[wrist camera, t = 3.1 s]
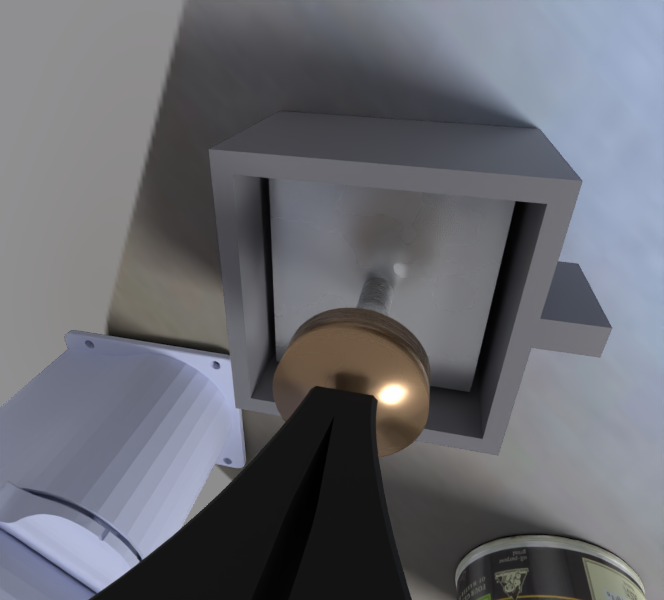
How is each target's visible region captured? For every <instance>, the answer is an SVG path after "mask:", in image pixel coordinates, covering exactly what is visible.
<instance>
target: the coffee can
mask: <svg viewBox="0 0 664 600" xmlns="http://www.w3.org/2000/svg"><path fill="white" fill-rule="evenodd" d="M455 583H456V588H457V600H646V597H645V591H644V587H643V584H642V582H641V580H640V578H639V576H638V575H637V574H636V573H635V572H634V570H633V569H632V568H631V567H629V566H628V565H627V564H626V563H625V562H624V561H623V560H621V559H620V558H618V557H617V556H615V555H614V554H612V553H610V552H608V551H606V550H604V549H601V548H599V547H597V546H594V545H591V544H588V543H585V542H583V541H579V540H572V539H568V538H563V537H557V536H548V535H521V536H512V537H506V538H500V539H497V540H494V541H491V542H488V543H486V544H483V545H481V546H479V547H477V548H476V549H474V550H472V551H471V552H470V553H468V554H467V555H466V556H465V557H464V558H463V559H462V561H461V562H460V563H459V565H458V567H457V570H456V575H455Z"/></svg>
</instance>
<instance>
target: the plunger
mask: <svg viewBox="0 0 664 600" xmlns="http://www.w3.org/2000/svg"><path fill="white" fill-rule="evenodd" d="M269 193H270V217H271V241H272V265H273V289H274V313H275V337H276V361H279V362H280V363H279V365H278V367H277V369H276V371H275V374H274V378H273V388H272V390H273V397H274V401H275V404H276V407H277V409H278V411H279V413H280V415H281V416H282V418H283V419H284V421H285V422H286V421H287V420H288V419H289V418H290V416H291V415H292V414H293V413H294V411H295V410H296V409H297V407H298V406H299V405H300V403H301V402H302V401H303V399H304V398H305V397H306V395H307V394H308V392H309V391H310V389H312V388H313V387H315V386H320V387H326V388H332V389H338V390H344V391H350V392H356V393H362V394H368V395H373V396H374V397H375V398H376V399H377V400H378V404H377V413H376V437H377V449H378V457H383V456H387V455H391V454H393V453H396V452H398V451H400V450H402V449H404V448H406V447H407V446H409V445H410V444H411V443H413V442H414V441H415V440H416V439H417V438H418V437H419V435H420V434H421V432H422V431H423V429H424V427H425V425H426V422H427V419H428V412H429V397H430V386H435V387H441V388H448V389H454V390H460V391H466V392H470V391H471V387H472V382H473V378H474V374H475V370H476V366H477V361H478V357H479V353H480V349H481V345H482V340H483V336H484V332H485V328H486V323H487V319H488V315H489V311H490V307H491V302H492V298H493V294H494V290H495V286H496V281H497V277H498V273H499V269H500V265H501V260H502V256H503V252H504V248H505V244H506V239H507V235H508V231H509V227H510V223H511V218H512V214H513V210H514V206H515V201H510V200H500V199H489V198H478V197H468V196H457V195H446V194H435V193H425V192H414V191H403V190H393V189H382V188H371V187H360V186H350V185H339V184H328V183H318V182H307V181H296V180H285V179H275V178H269Z"/></svg>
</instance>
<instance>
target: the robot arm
mask: <svg viewBox="0 0 664 600" xmlns="http://www.w3.org/2000/svg"><path fill="white" fill-rule="evenodd" d="M65 342H66V345H67V348H68V349H67V350H66V351H65V352H64V353H63V354H62V355H60V356H59V357H58V358H57V359H56V360H55V361H54V362H52V363H51V364H50V365H49V366H48V367H47V368H46V369H44V370H43V371H42V372H41V373H40V374H39V375H37V377H35V378H34V379H33V380H32V381H30V382H29V383H28V384H27V385H26V386H25V387H23V388H22V389H21V390H20V391H19V392H18V393H17V394H15V395H14V396H13V397H12V398H11V399H10V400H8V401H7V402H6V403H5V404H4V405H3V406H1V407H0V600H412V599H411V596H410V593H409V589H408V586H407V583H406V579H405V576H404V572H403V569H402V566H401V562H400V558H399V555H398V551H397V547H396V543H395V539H394V535H393V531H392V527H391V522H390V518H389V514H388V509H387V504H386V499H385V494H384V489H383V483H382V477H381V471H380V465H379V457H378V449H377V437H376V413H377V404H378V400H377V399H376V398H375V397H374V396H373V395H368V394H362V393H356V392H350V391H344V390H338V389H332V388H326V387H320V386H315V387H313V388H312V389H310V391H309V392H308V394H307V395H306V397H305V398H304V399H303V401H302V402H301V403H300V405H299V406H298V407H297V409H296V410H295V411H294V413H293V414H292V415H291V416H290V418H289V419H288V420H287V421H286V422H285V424H284V425H283V426H282V427H281V429H280V430H279V431H278V432H277V433H276V434H275V436H274V437H273V438H272V439H271V440H270V441H269V442H268V443H267V445H266V446H265V447H264V448H263V449H262V450H261V451H260V453H259V454H258V455H257V456H256V457H255V458H254V459H253V460H252V461H251V462H250V463H249V464H248V465H247V466H246V468H245V469H244V470H243V471H242V472H241V473H240V474H239V475H238V476H237V477H236V478H235V479H234V480H233V481H232V482H231V483H230V484H229V485H228V486H227V487H226V488H225V489H224V490H223V491H222V492H221V493H220V494H219V495H218V496H217V497H216V498H215V499H213V500H212V501H211V502H210V503H209V504H208V505H207V506H206V507H205V508H204V509H203V510H202V511H200V512H199V513H198V514H197V515H196V516H195V517H194V518H193V519H191V520H190V521H189V522H188V523H187V524H186V525H184V527H182V525H183V524H184V522H185V520H186V518H187V516H188V514H189V512H190V510H191V508H192V506H193V505H194V503H195V501H196V499H197V497H198V495H199V493H200V491H201V489H202V488H203V486H204V484H205V482H206V480H207V478H208V476H209V474H210V472H211V471H212V469H213V467H214V465H215V464H219V465H224V466H229V467H234V468H242V467H243V466H244V465H245V463H246V451H245V441H244V431H243V420H242V410H241V409H238V408H236V407H235V397H234V388H233V378H232V369H231V359H230V355H226V354H220V353H214V352H207V351H201V350H195V349H189V348H183V347H176V346H170V345H164V344H158V343H152V342H145V341H139V340H133V339H127V338H120V337H114V336H108V335H101V334H95V333H89V332H83V331H77V330H71V331H69V332H68V333H67V334H66V335H65ZM214 361H216V362H218V363H219V364H220V365H219V364H216V363H215V362H214ZM181 527H182V528H181Z"/></svg>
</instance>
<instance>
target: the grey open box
mask: <svg viewBox="0 0 664 600" xmlns="http://www.w3.org/2000/svg"><path fill="white" fill-rule="evenodd" d="M208 150H209V160H210V169H211V179H212V188H213V198H214V207H215V217H216V226H217V236H218V245H219V255H220V264H221V274H222V283H223V293H224V302H225V312H226V321H227V331H228V340H229V350H230V359H231V369H232V378H233V388H234V397H235V407H236V408H238V409H243V410H249V411H254V412H260V413H265V414H271V415H277V416H281V415H280V413H279V411H278V409H277V407H276V404H275V401H274V397H273V390H272V388H273V378H274V374H275V371H276V369H277V367H278V365H279V363H280V362H279V361H276V337H275V313H274V289H273V265H272V241H271V217H270V193H269V178H275V179H285V180H296V181H307V182H318V183H328V184H339V185H350V186H360V187H371V188H382V189H393V190H403V191H414V192H425V193H435V194H446V195H457V196H468V197H478V198H489V199H500V200H510V201H515V206H514V210H513V214H512V218H511V223H510V227H509V231H508V235H507V239H506V244H505V248H504V252H503V256H502V260H501V265H500V269H499V273H498V277H497V281H496V286H495V290H494V294H493V298H492V302H491V307H490V311H489V315H488V319H487V323H486V328H485V332H484V336H483V340H482V345H481V349H480V353H479V357H478V361H477V366H476V370H475V374H474V378H473V382H472V387H471V391H470V392H466V391H460V390H454V389H448V388H441V387H435V386H430V397H429V412H428V419H427V422H426V425H425V427H424V429H423V431H422V432H421V434H420V435H419V437H418V438H417V439H416V440H415V441H421V442H426V443H432V444H437V445H443V446H448V447H454V448H459V449H465V450H470V451H476V452H482V453H487V454H493V455H499V451H500V448H501V445H502V442H503V438H504V435H505V432H506V429H507V425H508V422H509V419H510V416H511V412H512V409H513V406H514V403H515V399H516V396H517V393H518V390H519V386H520V383H521V380H522V376H523V373H524V370H525V367H526V363H527V360H528V357H529V354H530V350H531V348H537V349H544V350H551V351H558V352H565V353H572V354H579V355H586V356H593V357H601V354H602V352H603V350H604V347H605V345H606V342H607V340H608V337H609V335H610V332H611V330H612V327H611V325H610V323H609V321H608V319H607V317H606V315H605V314H604V312H603V310H602V308H601V306H600V304H599V302H598V300H597V298H596V296H595V295H594V293H593V291H592V289H591V287H590V285H589V283H588V281H587V279H586V277H585V275H584V274H583V272H582V270H581V268H580V266H579V264H576V263H567V262H558V259H559V256H560V253H561V249H562V246H563V243H564V239H565V236H566V233H567V230H568V226H569V223H570V220H571V217H572V213H573V210H574V207H575V204H576V200H577V197H578V194H579V191H580V187H581V184H582V180H581V179H580V177H579V176H578V175H577V174H576V172H575V171H574V170H573V169H572V168H571V166H570V165H569V164H568V163H567V161H566V160H565V159H564V158H563V157H562V155H561V154H560V153H559V152H558V150H557V149H556V148H555V147H554V146H553V144H552V143H551V142H550V141H549V139H548V138H547V137H546V136H545V135H544V133H543V132H542V131H541V130H540V129H535V128H520V127H506V126H491V125H477V124H462V123H447V122H433V121H418V120H404V119H389V118H374V117H360V116H345V115H330V114H316V113H301V112H287V111H279V112H277V113H275V114H273V115H271V116H269V117H267V118H266V119H264V120H262V121H260V122H258V123H256V124H254V125H253V126H251V127H249V128H247V129H245V130H243V131H241V132H240V133H238V134H236V135H234V136H232V137H230V138H228V139H227V140H225V141H223V142H221V143H219V144H217V145H215V146H213V147H212V148H210V149H208Z"/></svg>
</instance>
